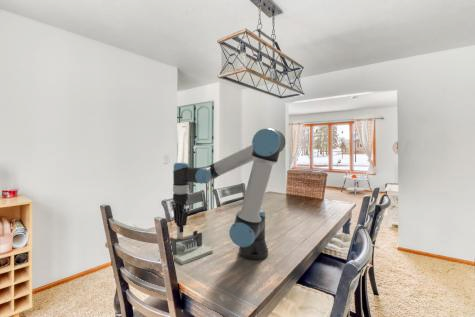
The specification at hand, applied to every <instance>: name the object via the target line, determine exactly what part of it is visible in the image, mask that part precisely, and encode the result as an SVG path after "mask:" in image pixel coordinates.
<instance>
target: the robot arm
mask: <svg viewBox="0 0 475 317" xmlns="http://www.w3.org/2000/svg"><path fill="white" fill-rule="evenodd" d="M285 146H286V137H285V135H284V134H283V133H282V132H281V131H279V130H277V129H273V128H272V127H271V128H269V127H265V128H261V129H260V130H258V131H256V132H255V134H254V135H253V137H252V140H251V145H248V146H247V147H245V148H244V147H243V149H240V150H239V151H237V152H235V153H232V154H230V155H228V156H226V157H223V158H222V159H220V160H217V161H216V162H213V163H210V164H209V165H206V166H202V167H190V166H189V163H188V162H175V163H174V164H173V169H172V173H173V175H172V176H173V180H172V181H173V184H172V186H173V187H172V192H173V194H172V195H173V196H172V201H173V202H174V203H173V204H171V206H172V209H173V221H174V224H176V238H178V239H180V238H183V237H184V227H185V226H187V222H188V215H189V212H190V208H189V207H187V201H189V193H188V192H189V183H194V184H201V185H202V184H206V185H207V184H209V183H210V181H211V180H215V179H217V178H218V177H221V176H223V175H225V174H227V173H229V172H231V171H234V170H236V169H237V168H240V167H243V166H245V165H247V164H249V163H251V162H252V167H251V170H250V174H249V178H248V182H247V186H246V189H245V193H244V197H243V201H242V206H241V209H240V210H238V211H237V212H236V214H235V218H234V219H235V220H234V223H233V224H232V225H231V226H230V227H229V230H228V231H229V238H230V239H231V241H232V243H233V244H235V246H238V247H239V248H238V255H239V256H240V257H241V258H243V259H246V260H251V261H258V260H259V261H260V260H263V259H265V258H267V257H268V255H269V248H268V245H267V241H266V212H265V210H264V209H262V206H263V203H264V202H263V201H264V199H265V194H266V191H267V188H268V183H269V180H270V177H271V173H272V169H273V166H274V165H275V164H277V163H278V159H279V157H280V154H281V153H282V151H284V148H285Z"/></svg>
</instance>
